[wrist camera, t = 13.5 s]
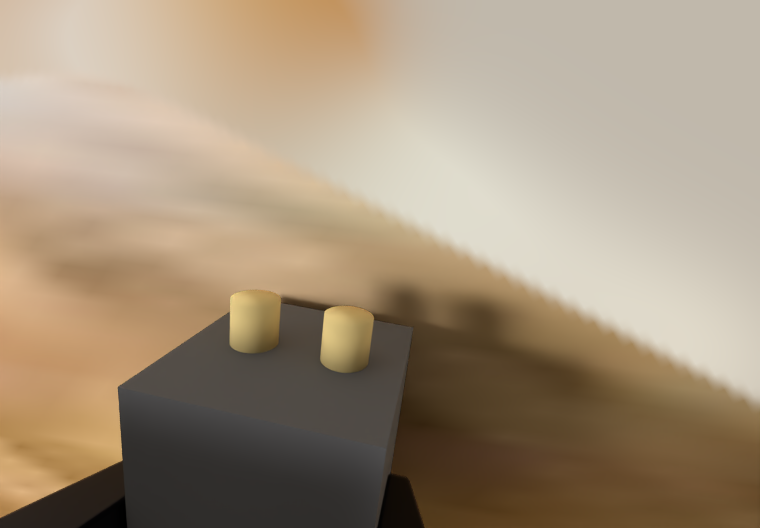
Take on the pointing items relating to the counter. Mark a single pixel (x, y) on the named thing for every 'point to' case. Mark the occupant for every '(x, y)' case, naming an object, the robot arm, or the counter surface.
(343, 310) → the plug
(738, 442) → the counter surface
